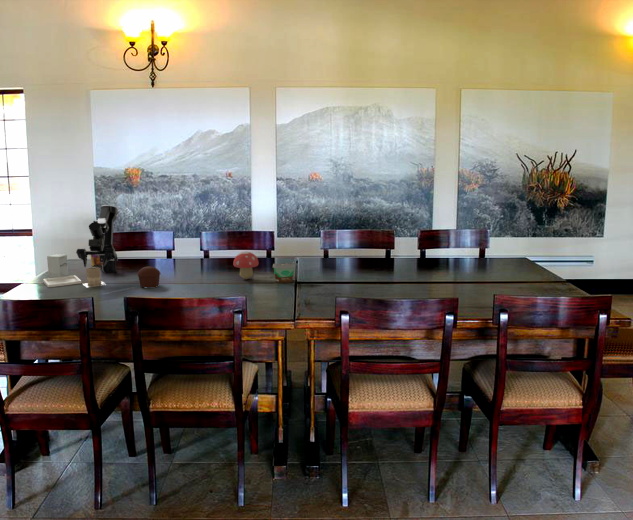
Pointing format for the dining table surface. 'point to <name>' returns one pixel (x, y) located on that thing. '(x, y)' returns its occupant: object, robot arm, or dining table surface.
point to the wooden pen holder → (93, 276)
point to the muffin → (149, 276)
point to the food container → (283, 272)
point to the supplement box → (57, 265)
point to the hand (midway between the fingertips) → (94, 266)
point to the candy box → (95, 260)
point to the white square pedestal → (93, 286)
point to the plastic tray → (62, 281)
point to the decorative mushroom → (246, 264)
